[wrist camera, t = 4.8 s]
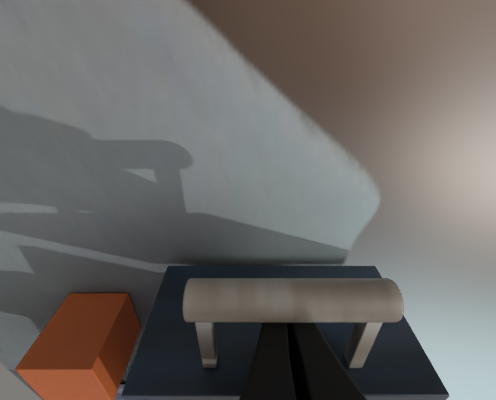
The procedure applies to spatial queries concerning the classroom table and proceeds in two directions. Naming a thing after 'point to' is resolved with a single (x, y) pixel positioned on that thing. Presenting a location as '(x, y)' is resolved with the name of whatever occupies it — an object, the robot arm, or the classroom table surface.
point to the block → (83, 348)
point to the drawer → (276, 311)
